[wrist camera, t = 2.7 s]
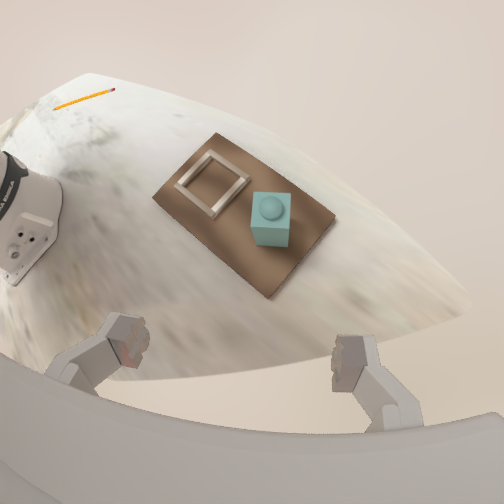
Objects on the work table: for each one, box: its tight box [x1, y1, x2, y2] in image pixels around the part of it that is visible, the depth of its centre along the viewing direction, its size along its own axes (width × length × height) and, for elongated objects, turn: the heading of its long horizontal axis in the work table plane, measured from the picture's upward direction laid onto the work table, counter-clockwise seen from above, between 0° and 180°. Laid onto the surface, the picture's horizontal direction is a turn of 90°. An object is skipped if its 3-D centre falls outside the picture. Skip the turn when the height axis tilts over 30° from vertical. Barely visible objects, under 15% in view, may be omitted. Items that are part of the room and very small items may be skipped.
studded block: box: [250, 192, 291, 247], centre depth 34 cm, size 4×4×8 cm
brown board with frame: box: [152, 133, 336, 299], centre depth 40 cm, size 14×22×3 cm, turn 49°
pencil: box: [53, 88, 115, 110], centre depth 52 cm, size 1×19×1 cm, turn 90°
